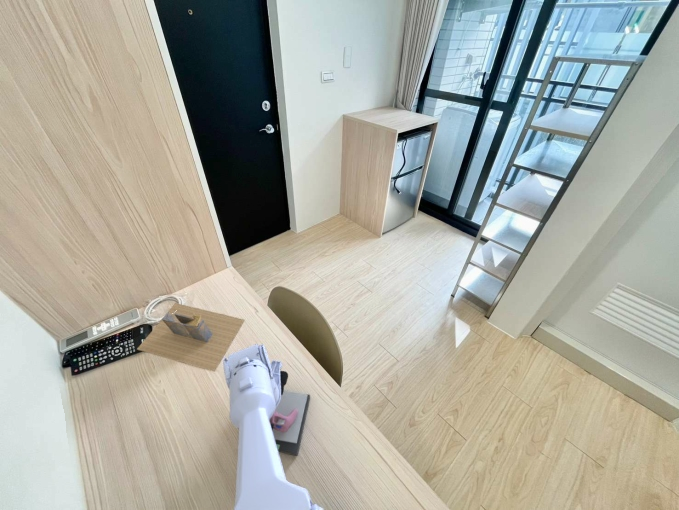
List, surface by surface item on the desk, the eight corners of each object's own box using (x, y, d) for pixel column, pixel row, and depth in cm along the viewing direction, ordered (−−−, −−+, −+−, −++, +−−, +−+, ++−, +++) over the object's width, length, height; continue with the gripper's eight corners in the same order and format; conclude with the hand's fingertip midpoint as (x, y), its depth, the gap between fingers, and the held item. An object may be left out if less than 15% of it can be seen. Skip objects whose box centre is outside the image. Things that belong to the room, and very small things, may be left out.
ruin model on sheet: (245, 319, 83) (236, 300, 76) (214, 371, 72) (201, 354, 65) (175, 303, 88) (161, 283, 81) (136, 349, 76) (116, 331, 69)
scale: (297, 456, 59) (296, 453, 57) (241, 444, 60) (238, 442, 58) (310, 397, 67) (309, 393, 65) (260, 388, 68) (258, 384, 67)
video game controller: (256, 413, 63) (241, 420, 57) (263, 393, 65) (250, 397, 58) (293, 430, 61) (283, 439, 54) (300, 409, 62) (291, 415, 56)
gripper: (254, 348, 55) (267, 375, 64) (221, 429, 45) (241, 447, 54) (287, 353, 54) (295, 379, 64) (261, 437, 44) (275, 454, 53)
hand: (272, 411), depth 59 cm, fingers open, 7 cm apart
